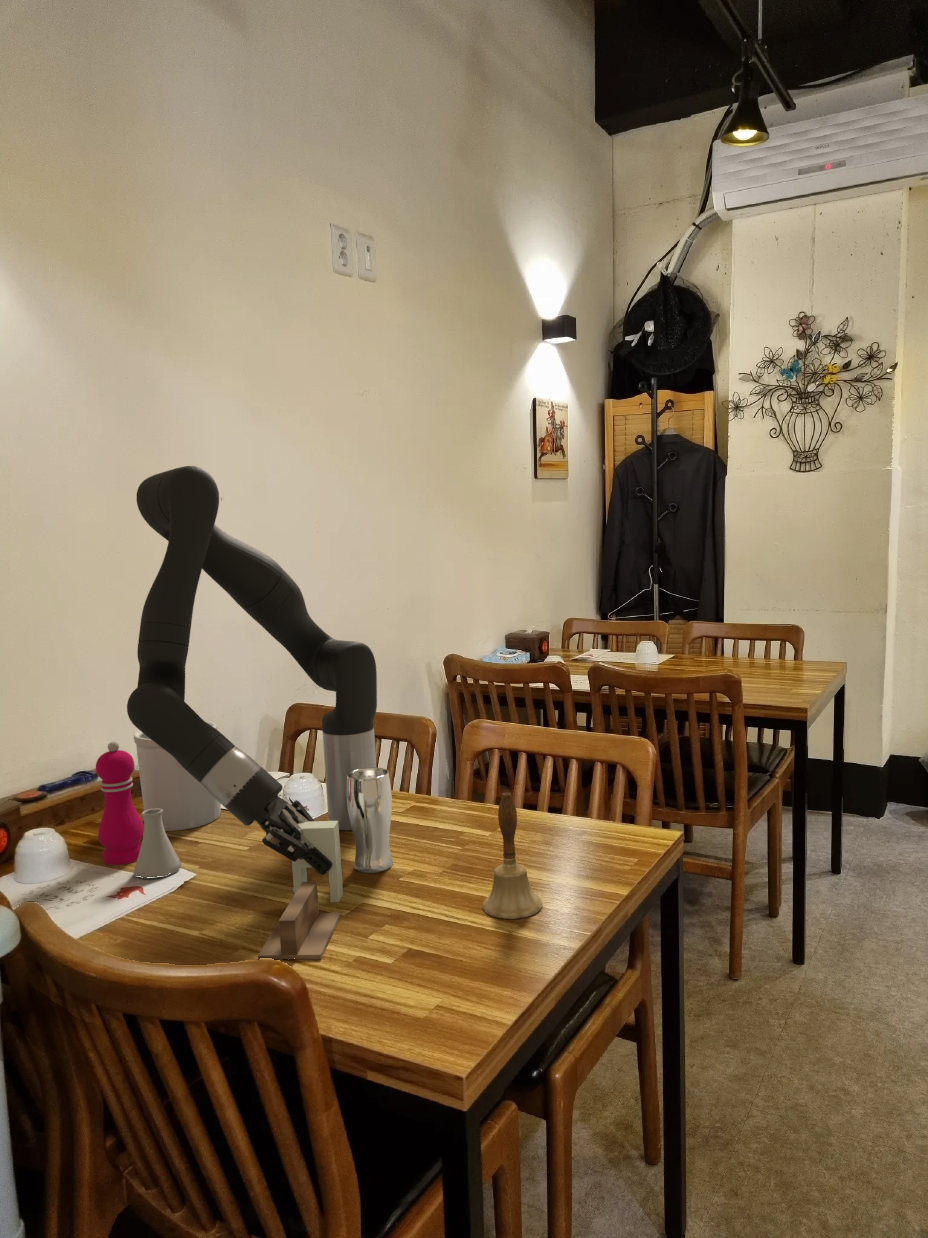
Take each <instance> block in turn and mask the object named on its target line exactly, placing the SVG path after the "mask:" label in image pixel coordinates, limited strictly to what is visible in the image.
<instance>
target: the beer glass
mask: <svg viewBox="0 0 928 1238" xmlns="http://www.w3.org/2000/svg"><path fill="white" fill-rule="evenodd" d="M347 806H348V813H349V818H350V822H351V826H352V830H351V831H352V834H353V838H354V844H355V855H354V857H355V858H354V863H353V865H354V866H353V867H354V869H355V871H356V872H359V873H364V874H375V873H381V872H385V871H387V870H390V868H392V867H393V864H394V861H393V856H392V853H391V848H390V831H391V829H390V828H391V820H392V809H393V799H392V788H391V779H390V771H389V770H388V769H386V768H383V767H377V768H362V769H357V770H353V771H351V772H349V773H348V774H347Z"/></svg>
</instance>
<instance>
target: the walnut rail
mask: <svg viewBox="0 0 928 1238" xmlns="http://www.w3.org/2000/svg"><path fill="white" fill-rule="evenodd" d="M319 908H320V907H319V895H318V881H307V882H302V883H301V885H300V887H299V888H298V890H297V892H296V893H295V895H294V894H293V896H292V898H291V900H290V901H289V903H288V905H287V907H286V908H285V910H284V912H283V913H282V915H281V916H280V918H279V920H278V922H277V923H276V925H275V927H274V928H273V930H272V931H271V933H270V935H269V936H268V938H267V940H266V941H265V943H264V945H263V947H262V948H261V949H260V951H259V952H258V954H257V960H258V959H260V958H272V959H279V961H284V960H283V959H288V960H287V961H289V959H294V958H295V959H303V960H322V959H323V957H322V956H324V954H325V952H326V950H327V948H328V946H329V943H330V942H331V938H332V937H333V935H334V932H335V930H336V928H337V925H338V923H339V922H340V919H341V916H342V915H341V912H320V911H319ZM326 947H327V948H326ZM324 951H325V952H324Z"/></svg>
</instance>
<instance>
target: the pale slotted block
mask: <svg viewBox="0 0 928 1238" xmlns="http://www.w3.org/2000/svg"><path fill="white" fill-rule="evenodd" d="M298 825H299V826H300V827H301V830H303V832H304V834H303V835H304V837H305V838H306V839H308V840H309V842H310V843H311V844H312V845H313V848H314V847H316V848H317V849H318V850H319V851H320V852H321V853H322V854H323V855H324V856H326V857H327V858H328V859H329V860H330V861H331V862H332V864H333V865H332V867H331V868H330V869H329V871H328V882H329V899H330V903H340V901H341V899H342V897H343V895H344V888H343V873H342V857H341V856H342V855H341V844H340V843H341V842H340V830H339V825H338V821H328V820H322V821H321V820H319V821H318V820H314V821H311V822H301V823H300V822H299V823H298ZM294 835H295V833H294V834H293V835H292V836H291V837H293V836H294ZM298 841H299V840H298ZM313 848H312V849H313ZM290 851H291V850H290ZM291 852H292V851H291ZM291 869H292V881H293V882H292V884H293V896H294V895H295V893H296V892H297V890H298V888H299V887H300V885H301V883H302V882H308V875H307V869H314V868H313V867H312V866H311V865H309V864H308V863H307V862H306V861H305V860H304V859H302V860H300V859H297V860H296V861H295V862H294V861H292V860H291Z"/></svg>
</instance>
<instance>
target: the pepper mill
mask: <svg viewBox="0 0 928 1238" xmlns="http://www.w3.org/2000/svg"><path fill="white" fill-rule="evenodd" d="M107 750H108V751H106V752H104V753H102V754H101V755H100V756H99V757H98V759H97V760H96V763H95V772H96V775H97V776H98V777H99V779H101V780H102V781H100V790H101V791H102V792H103V795H104V808H103V809H104V810H103V813H102V816H101V819H100V822H99V825H98V832H97V836H98V842H99V843H100V845H102V846H103V847H104V849H103V851H102V856H103V857H102V858H103V862H104V863H105V864H107V865H110V866H111V865H112V866H119V865H126V864H130V863H135V862H137V859H138V856H139V852H140V848H141V844H142V842H140V841H141V840H143V833H144V821H143V820H142V817H141V815H139V813H138V811H137V810H136V807H135V804H134V803H133V802H134V801H133V799H132V787H133V786H134V783H133V780H134V779H133V776H132V777H131V775H132V773H133V772H134V770H135V761H134V758H133V756H132V755H131V753H129V752H127V751H125V750H120V745H119V743H118V742H116V741H111V742H109V743H108V745H107Z"/></svg>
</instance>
